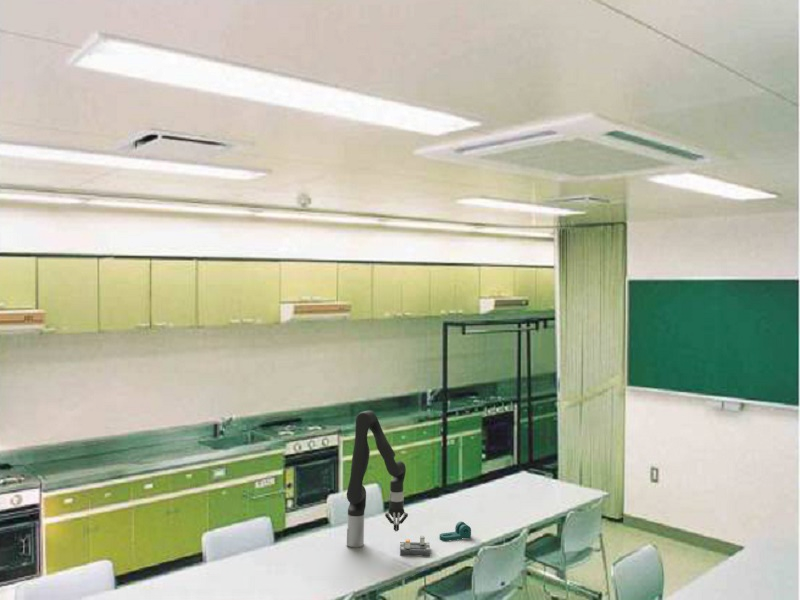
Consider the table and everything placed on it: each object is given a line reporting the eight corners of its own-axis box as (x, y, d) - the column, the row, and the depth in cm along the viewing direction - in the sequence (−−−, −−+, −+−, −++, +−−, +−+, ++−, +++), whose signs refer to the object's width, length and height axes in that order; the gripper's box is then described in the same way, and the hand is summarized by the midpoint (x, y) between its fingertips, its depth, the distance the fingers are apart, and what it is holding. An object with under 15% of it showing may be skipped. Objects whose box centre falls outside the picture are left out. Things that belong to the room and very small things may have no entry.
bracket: (465, 534, 405) (465, 521, 404) (470, 538, 398) (471, 524, 398) (437, 537, 398) (437, 524, 398) (442, 541, 392) (442, 528, 392)
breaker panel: (400, 555, 370) (400, 549, 370) (400, 547, 381) (400, 541, 381) (429, 556, 370) (430, 550, 370) (429, 548, 381) (429, 542, 381)
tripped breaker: (405, 548, 371) (405, 541, 371) (405, 546, 374) (405, 539, 374) (409, 548, 371) (410, 541, 371) (409, 546, 374) (410, 539, 374)
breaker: (420, 544, 377) (420, 537, 377) (419, 542, 380) (420, 535, 380) (424, 544, 377) (424, 537, 377) (424, 542, 380) (424, 535, 380)
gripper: (384, 501, 369) (383, 533, 369) (409, 501, 369) (408, 533, 369) (384, 496, 376) (384, 528, 376) (408, 497, 376) (408, 528, 376)
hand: (396, 530), depth 373 cm, fingers closed
